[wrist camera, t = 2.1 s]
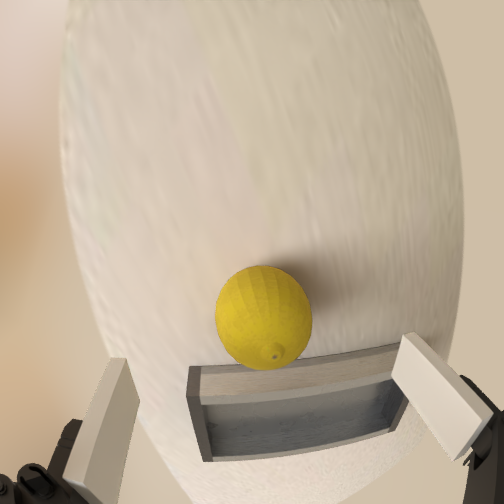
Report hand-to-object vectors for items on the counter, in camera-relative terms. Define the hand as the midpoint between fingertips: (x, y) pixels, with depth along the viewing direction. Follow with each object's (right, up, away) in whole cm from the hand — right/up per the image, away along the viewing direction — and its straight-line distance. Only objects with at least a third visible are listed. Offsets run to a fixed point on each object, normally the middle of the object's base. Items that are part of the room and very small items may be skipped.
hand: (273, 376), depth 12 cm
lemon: (-1, +3, +9) cm, 9 cm away
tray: (+4, -8, +12) cm, 15 cm away
